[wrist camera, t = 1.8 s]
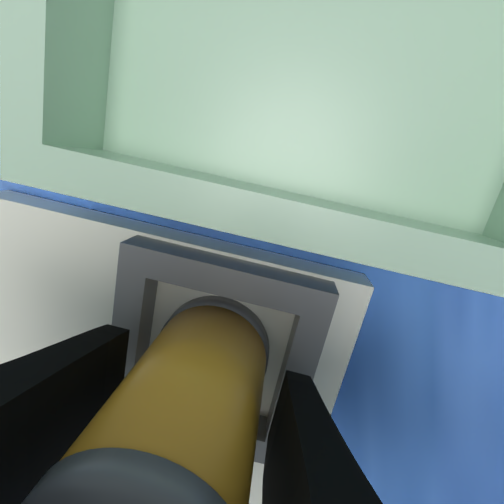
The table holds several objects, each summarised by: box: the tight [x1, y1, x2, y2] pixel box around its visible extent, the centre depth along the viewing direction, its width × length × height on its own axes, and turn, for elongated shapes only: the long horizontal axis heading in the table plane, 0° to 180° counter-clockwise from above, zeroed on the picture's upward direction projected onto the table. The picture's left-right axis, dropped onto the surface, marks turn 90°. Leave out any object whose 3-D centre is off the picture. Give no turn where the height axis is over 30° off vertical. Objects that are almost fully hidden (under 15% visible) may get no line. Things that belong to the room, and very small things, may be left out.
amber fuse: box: [21, 296, 269, 504], centre depth 7 cm, size 3×3×6 cm
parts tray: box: [0, 0, 504, 297], centre depth 7 cm, size 13×10×3 cm
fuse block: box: [0, 190, 374, 504], centre depth 11 cm, size 12×13×2 cm
